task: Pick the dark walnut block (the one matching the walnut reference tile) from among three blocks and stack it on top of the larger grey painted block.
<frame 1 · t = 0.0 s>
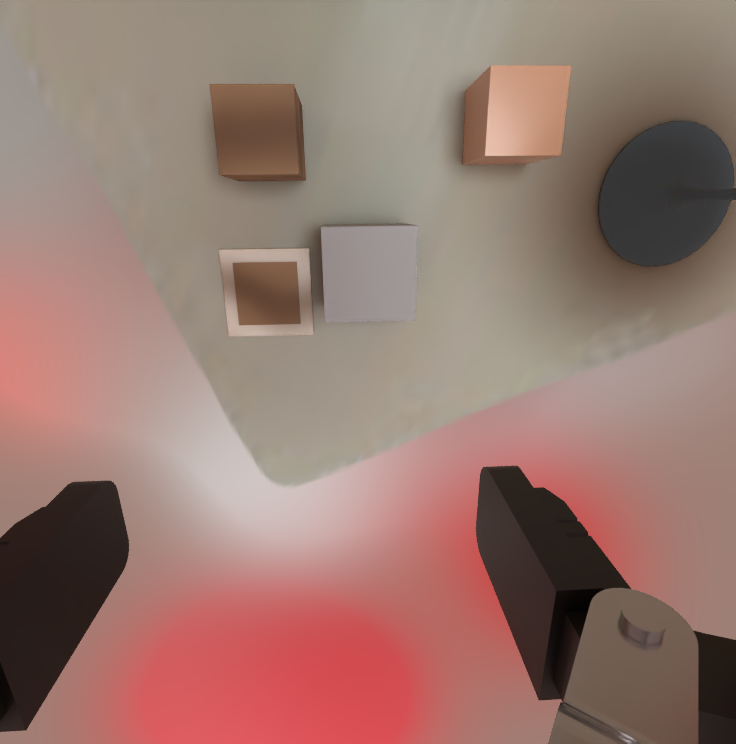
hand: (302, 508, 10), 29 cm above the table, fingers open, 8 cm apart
cocktail glass: (662, 197, 37), on the table
grey block: (365, 266, 37), on the table
terracotta block: (496, 128, 34), on the table
reference tile: (268, 292, 38), on the table
walnut block: (270, 144, 34), on the table
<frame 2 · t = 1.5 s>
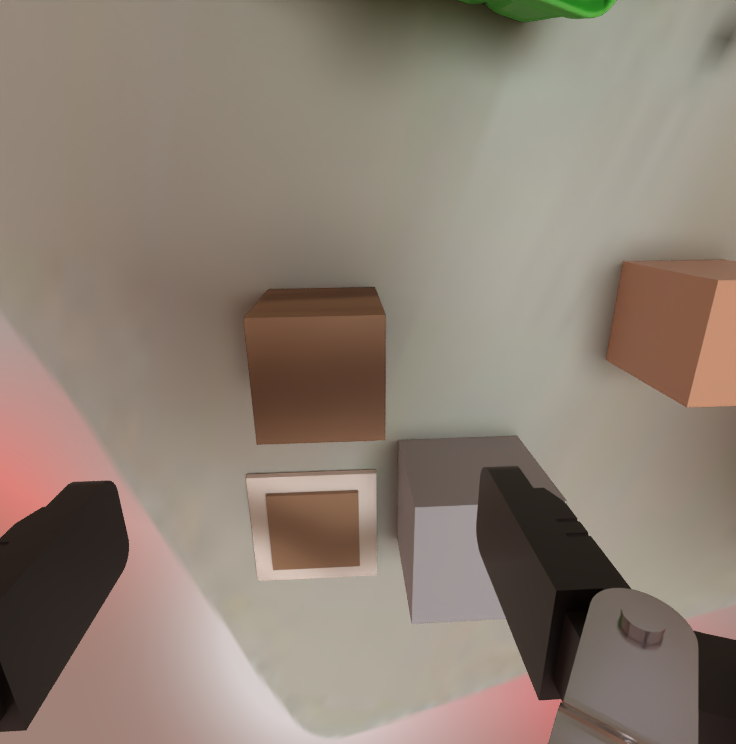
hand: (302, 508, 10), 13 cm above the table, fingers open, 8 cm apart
grey block: (454, 487, 26), on the table
terracotta block: (662, 311, 23), on the table
reference tile: (315, 524, 26), on the table
walnut block: (324, 338, 23), on the table
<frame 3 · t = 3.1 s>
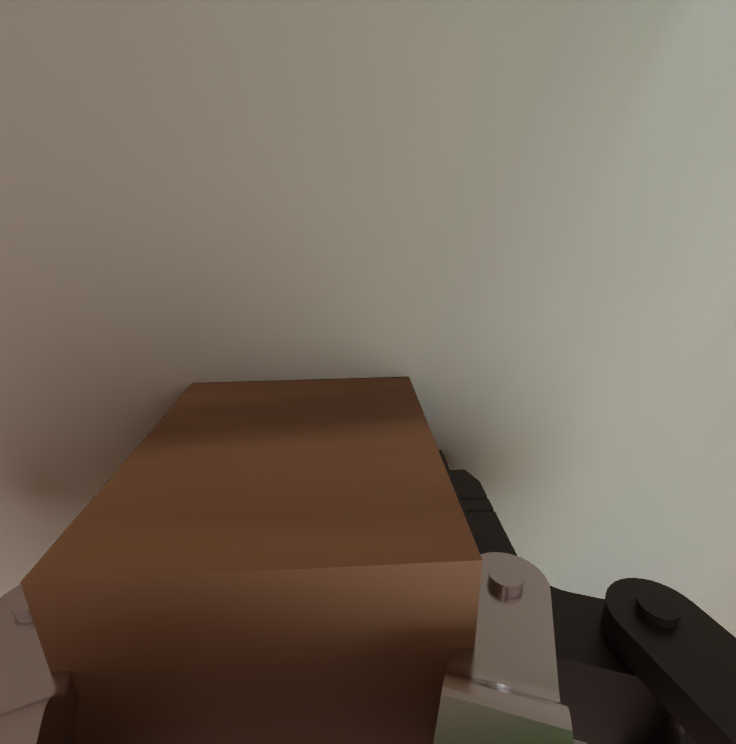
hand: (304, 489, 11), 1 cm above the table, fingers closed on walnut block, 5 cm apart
walnut block: (307, 473, 11), on the table, touching gripper
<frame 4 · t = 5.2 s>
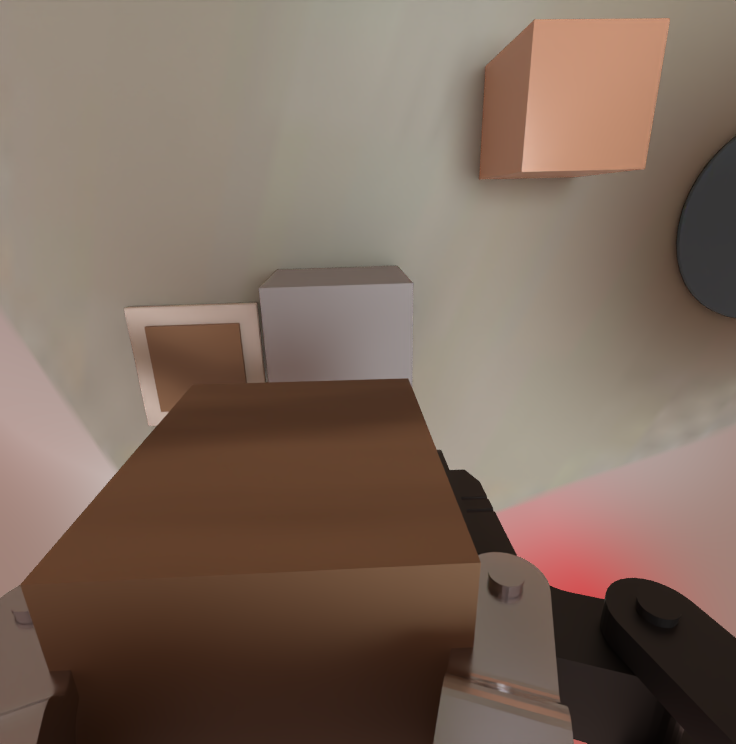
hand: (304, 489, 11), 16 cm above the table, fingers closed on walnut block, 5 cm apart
grey block: (340, 325, 26), on the table
terracotta block: (531, 124, 23), on the table
reference tile: (202, 365, 26), on the table
walnut block: (307, 474, 12), point 15 cm above the table, touching gripper
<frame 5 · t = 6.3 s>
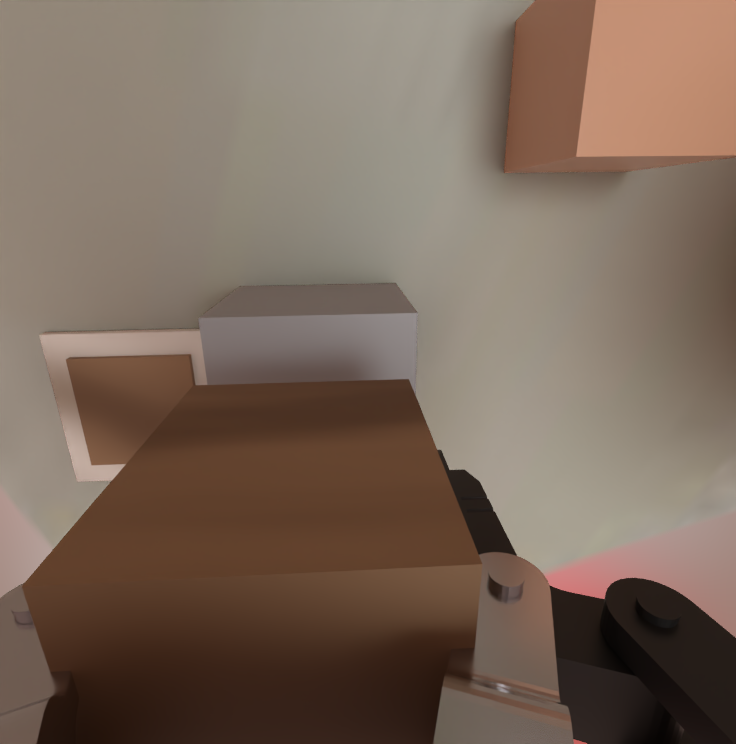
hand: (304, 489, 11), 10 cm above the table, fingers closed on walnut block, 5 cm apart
grey block: (322, 357, 20), on the table
terracotta block: (573, 100, 17), on the table
reference tile: (144, 406, 21), on the table
walnut block: (308, 475, 12), point 9 cm above the table, touching gripper
when the fingers open (8 cm above the table, at t = 7.1 s): walnut block drops 1 cm, resting on grey block.
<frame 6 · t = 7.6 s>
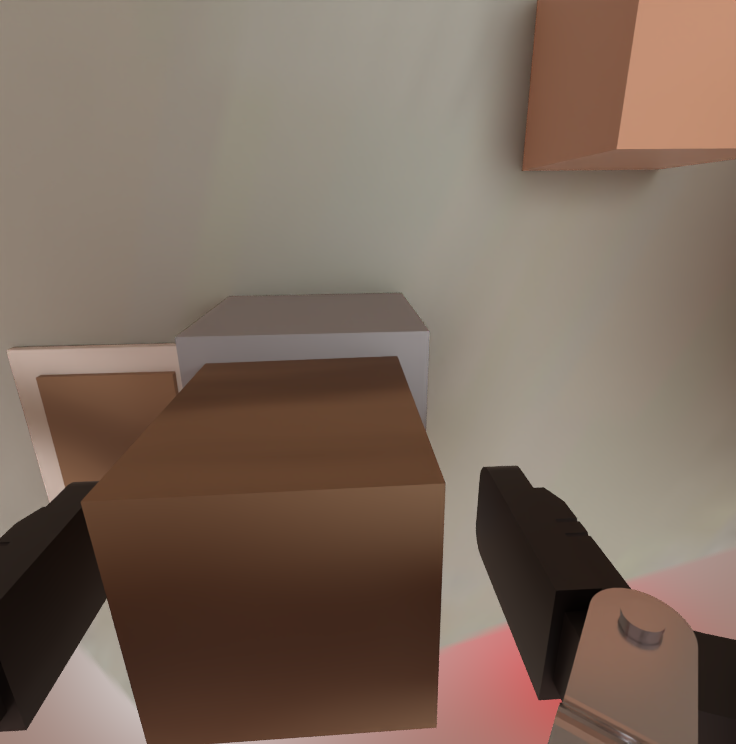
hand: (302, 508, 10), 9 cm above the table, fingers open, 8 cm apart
grey block: (320, 374, 18), on the table, touching walnut block
terracotta block: (600, 90, 16), on the table
reference tile: (125, 427, 19), on the table
walnut block: (308, 444, 13), point 6 cm above the table, touching grey block
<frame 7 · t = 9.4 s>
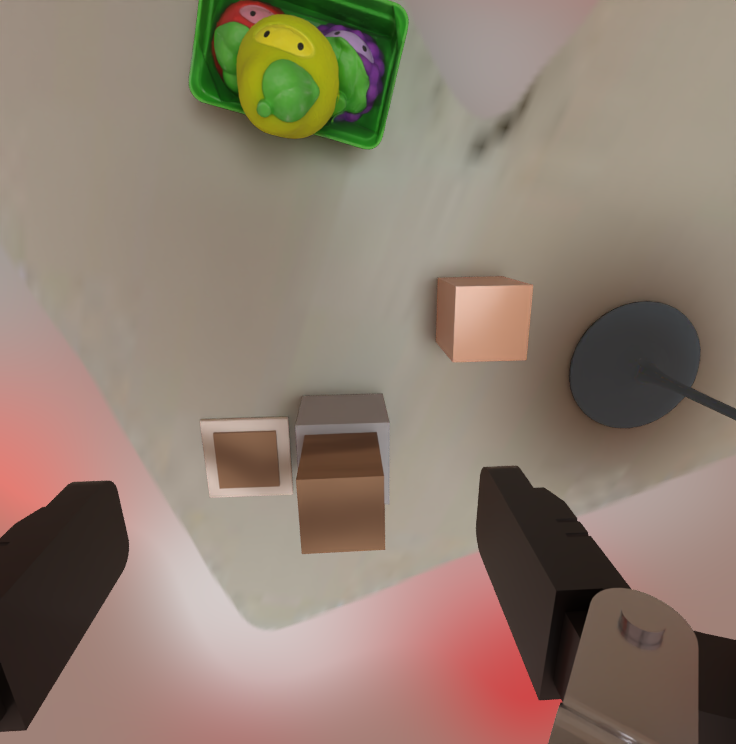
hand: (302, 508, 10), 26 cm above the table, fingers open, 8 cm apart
cocktail glass: (632, 365, 38), on the table
grey block: (343, 431, 38), on the table, touching walnut block
terracotta block: (468, 309, 36), on the table
fruit basket: (303, 91, 31), on the table
reference tile: (248, 456, 38), on the table
walnut block: (342, 465, 33), point 6 cm above the table, touching grey block
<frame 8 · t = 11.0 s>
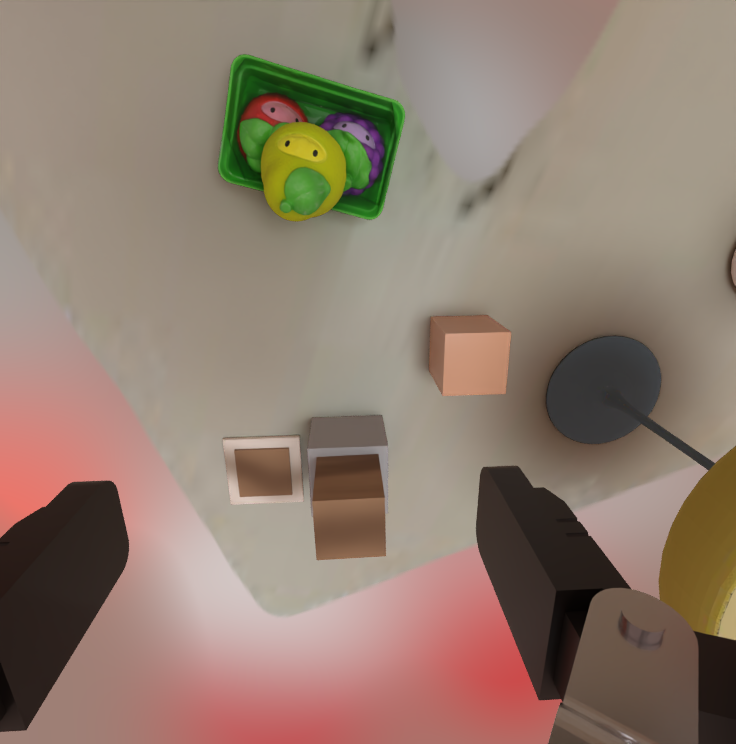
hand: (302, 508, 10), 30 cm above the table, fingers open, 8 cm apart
cocktail glass: (601, 390, 43), on the table
grey block: (348, 447, 44), on the table, touching walnut block
terracotta block: (457, 343, 41), on the table
fruit basket: (313, 159, 35), on the table
reference tile: (265, 469, 44), on the table
walnut block: (348, 482, 38), point 6 cm above the table, touching grey block
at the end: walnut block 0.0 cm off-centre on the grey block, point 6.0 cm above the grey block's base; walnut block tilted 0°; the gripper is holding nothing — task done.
